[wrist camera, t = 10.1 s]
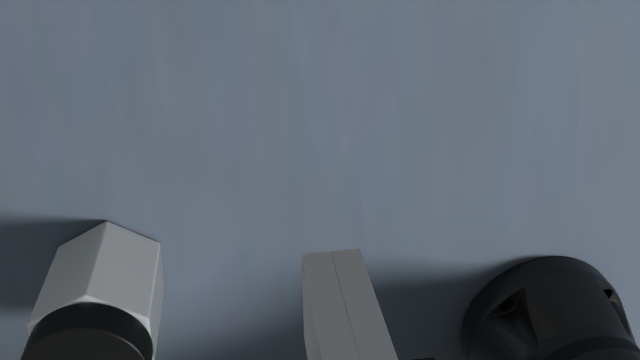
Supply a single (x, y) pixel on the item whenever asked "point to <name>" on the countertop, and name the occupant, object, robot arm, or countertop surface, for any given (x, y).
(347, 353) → the robot arm
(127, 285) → the jar
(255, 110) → the countertop surface
